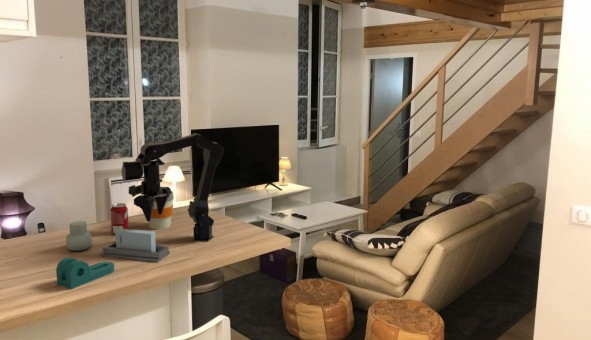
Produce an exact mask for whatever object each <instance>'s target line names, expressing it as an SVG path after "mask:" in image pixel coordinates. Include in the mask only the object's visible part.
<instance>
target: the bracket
mask: <svg viewBox="0 0 591 340" xmlns="http://www.w3.org/2000/svg"><path fill="white" fill-rule="evenodd" d="M55 271H56V273H55V274H56V285H57V286H61V287H63V288H66V289H70V290H73V289H76V288H78V287H80V286H83V285H85V284H88V283H91V282H93V281H95V280H98V279H101V278H103V277H106V276H108V275H111V274H112V273H113V274H114V272H115V263H114V262H112V261H111V262H110V261H101V262H97V263H95V264H92V265H89V263H88V262H86V261H83V260H80V259H76V258H73V257H64V258H63V259H61V260H60V261H59V262H58V263H57V266H56V269H55Z"/></svg>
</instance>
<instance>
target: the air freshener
mask: <svg viewBox="0 0 591 340" xmlns="http://www.w3.org/2000/svg"><path fill="white" fill-rule="evenodd" d="M87 225H88V224H87V222H86V221H85V220H77V221H72V222H70V223H69V225H68V226H69V234H67V235H66V236H65V240H66V247H67V250H69V251H73V252H74V251H75V252H76V251H77V252H80V251H84V250H87V249H90V247H92V246H93V238H92V234H91V233H90V232H88V226H87Z"/></svg>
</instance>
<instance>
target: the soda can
mask: <svg viewBox="0 0 591 340" xmlns="http://www.w3.org/2000/svg"><path fill="white" fill-rule="evenodd" d="M109 212H110V225H111V226H110V229H111V233H112V234H113V235H116V233H115V231H116V230H118V229H130V228H129V227H130V226H129V225H130V224H129V209H128V206H127V204H126V203H123V202H121V203H118V202H117V203H113V204H112V205H111V208H110V211H109Z"/></svg>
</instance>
